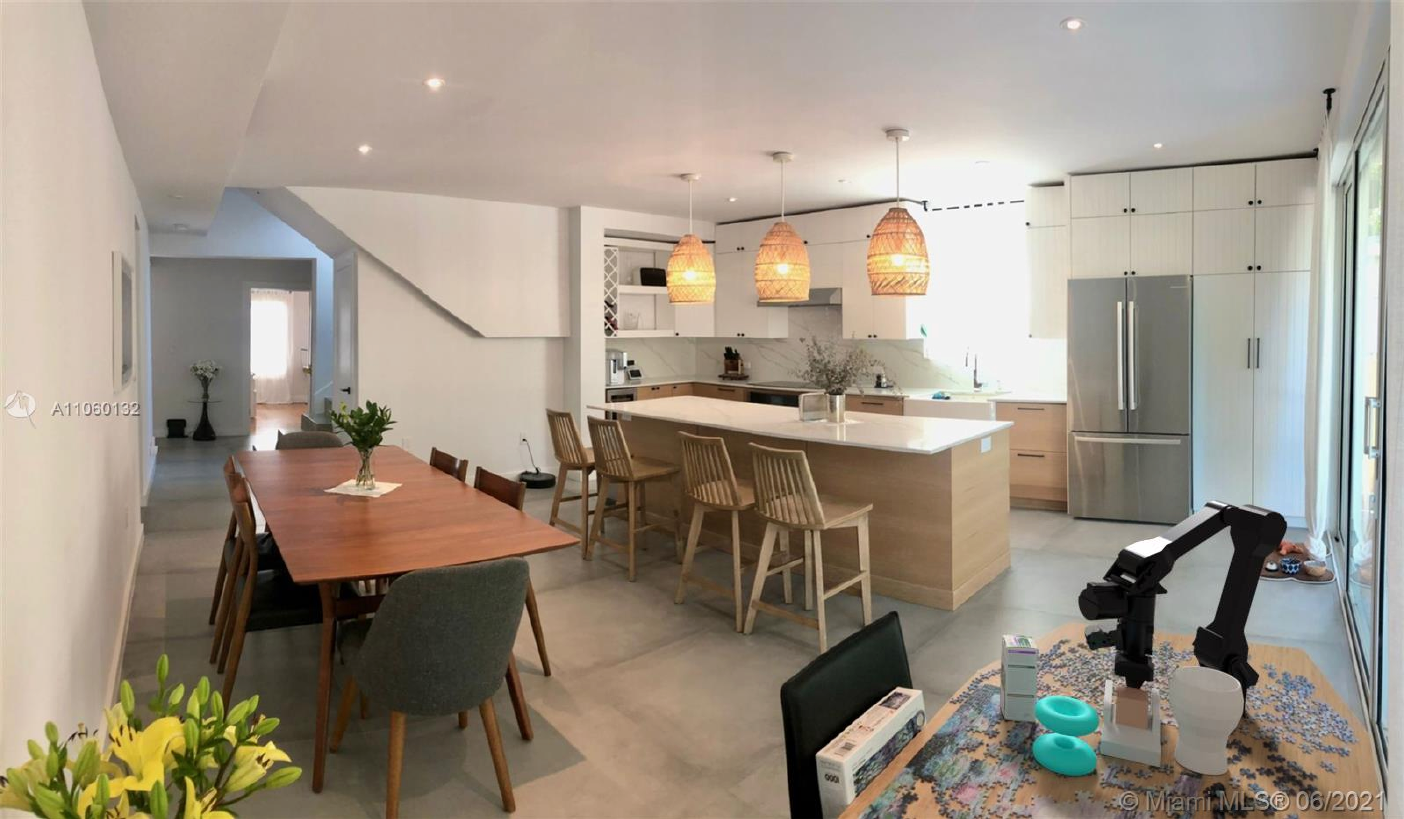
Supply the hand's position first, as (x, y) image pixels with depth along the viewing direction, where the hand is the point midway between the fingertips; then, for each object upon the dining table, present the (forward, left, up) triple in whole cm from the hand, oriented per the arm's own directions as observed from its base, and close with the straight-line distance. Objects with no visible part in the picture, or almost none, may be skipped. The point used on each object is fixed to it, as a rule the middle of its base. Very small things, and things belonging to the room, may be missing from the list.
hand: (1131, 696), depth 152 cm
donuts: (+10, +22, -4) cm, 25 cm away
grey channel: (0, +6, -4) cm, 7 cm away
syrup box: (+19, +9, -4) cm, 21 cm away
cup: (-11, +12, -4) cm, 17 cm away
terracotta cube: (0, +7, -2) cm, 7 cm away
